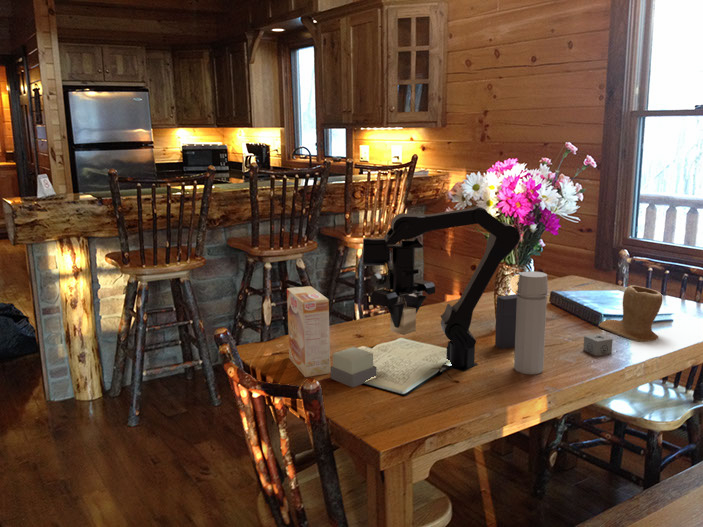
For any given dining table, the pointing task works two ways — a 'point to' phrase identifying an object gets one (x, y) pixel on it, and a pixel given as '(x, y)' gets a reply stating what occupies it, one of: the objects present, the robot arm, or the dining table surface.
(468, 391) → the dining table surface
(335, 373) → the tower base
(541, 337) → the water bottle
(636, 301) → the brown hollow flared piece
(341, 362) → the tower top
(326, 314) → the coffeecake box
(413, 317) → the wood block
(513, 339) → the dark upright pillar
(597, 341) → the grey cube
